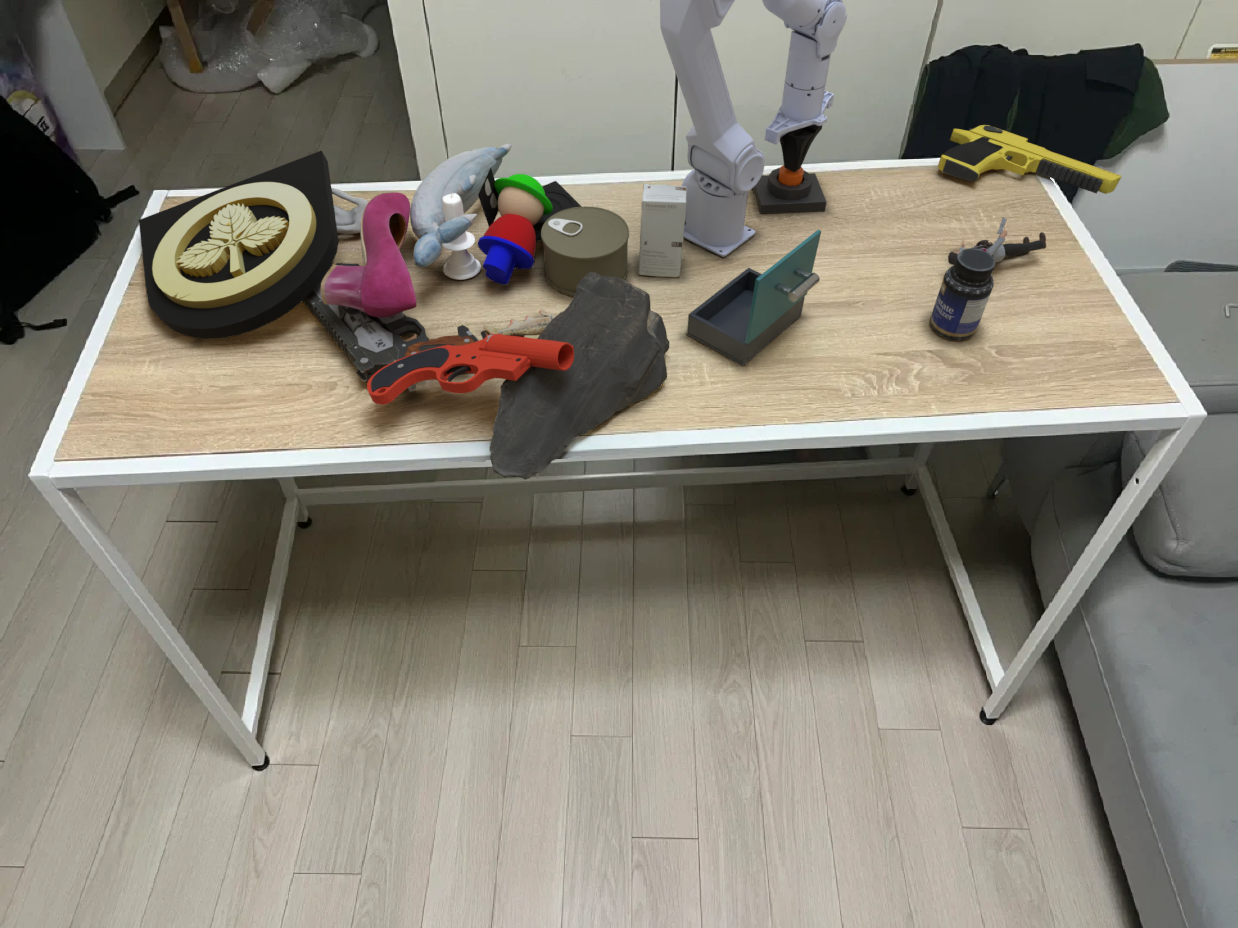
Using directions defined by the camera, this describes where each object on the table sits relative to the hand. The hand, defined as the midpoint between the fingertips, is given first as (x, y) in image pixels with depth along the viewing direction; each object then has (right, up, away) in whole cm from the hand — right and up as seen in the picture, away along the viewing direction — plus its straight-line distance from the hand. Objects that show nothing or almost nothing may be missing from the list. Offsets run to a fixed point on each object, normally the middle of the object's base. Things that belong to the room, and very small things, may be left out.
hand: (792, 167), depth 141 cm
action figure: (+34, -13, -7) cm, 37 cm away
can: (-31, -18, -8) cm, 36 cm away
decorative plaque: (-74, -27, -21) cm, 81 cm away
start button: (0, -1, +2) cm, 2 cm away
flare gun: (-48, -39, -37) cm, 72 cm away
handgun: (+33, -3, +2) cm, 33 cm away
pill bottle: (+18, -27, -16) cm, 36 cm away
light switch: (-41, -11, -5) cm, 43 cm away
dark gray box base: (-9, -26, -16) cm, 32 cm away
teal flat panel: (-6, -23, -25) cm, 34 cm away
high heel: (-62, -15, -16) cm, 65 cm away
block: (0, -3, +4) cm, 5 cm away
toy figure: (-44, -19, -13) cm, 49 cm away
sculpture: (-46, -15, -21) cm, 53 cm away
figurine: (-80, -7, -3) cm, 80 cm away
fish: (-39, -25, -16) cm, 49 cm away
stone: (-24, -25, -22) cm, 41 cm away
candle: (-48, -17, -8) cm, 52 cm away
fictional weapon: (-51, -22, -15) cm, 57 cm away
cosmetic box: (-20, -17, -8) cm, 27 cm away
